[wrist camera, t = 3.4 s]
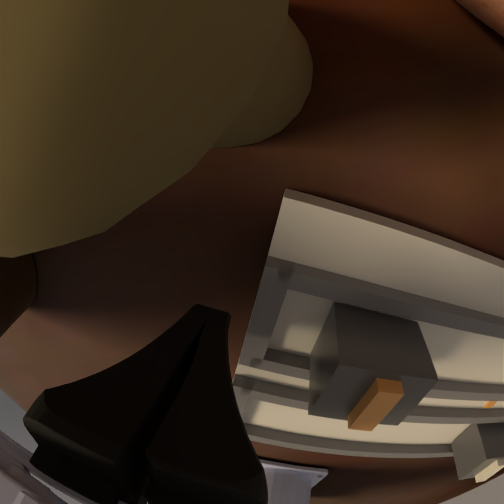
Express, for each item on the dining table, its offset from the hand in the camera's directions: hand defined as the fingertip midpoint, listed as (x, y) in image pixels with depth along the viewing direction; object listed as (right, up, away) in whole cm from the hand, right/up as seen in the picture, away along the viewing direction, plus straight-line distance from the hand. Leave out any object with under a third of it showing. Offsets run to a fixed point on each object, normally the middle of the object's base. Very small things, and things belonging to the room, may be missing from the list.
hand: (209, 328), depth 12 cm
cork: (+1, +10, -1) cm, 10 cm away
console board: (+14, -5, +3) cm, 15 cm away
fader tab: (+6, -1, +1) cm, 7 cm away
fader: (+19, -11, +4) cm, 22 cm away
